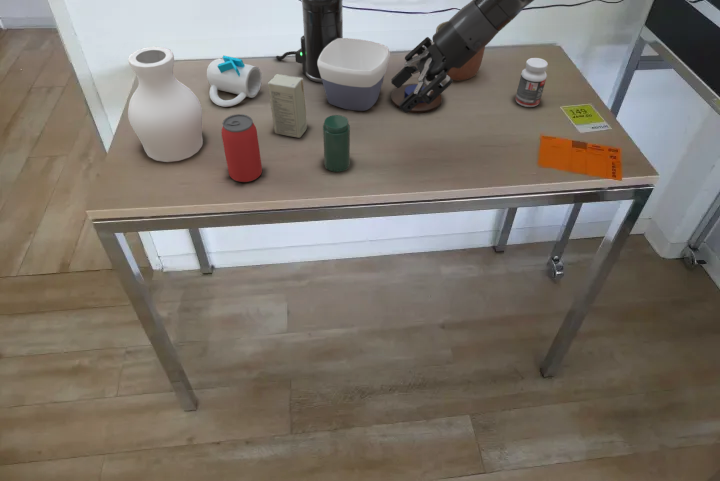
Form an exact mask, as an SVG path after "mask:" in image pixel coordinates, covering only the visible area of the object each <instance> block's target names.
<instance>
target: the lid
mask: <svg viewBox="0 0 720 481" xmlns="http://www.w3.org/2000/svg"><path fill="white" fill-rule="evenodd" d="M414 84H415V85H410V86H408V87H406V88H405V93H404V94H405V98H406V97H407V96H408V95H409V94H410V93H412V92H414V90H415V89H416V87H417V84H418V83H414ZM424 88H425V87H424V86H423V88H422V90H423V89H424ZM429 96H430V94H429ZM422 102H424V101H421V102H419V103H422Z"/></svg>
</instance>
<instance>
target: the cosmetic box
mask: <svg viewBox="0 0 720 481" xmlns="http://www.w3.org/2000/svg"><path fill="white" fill-rule="evenodd" d="M267 87H268V94H269V101H270V102H269V103H270V109H271V114H272V122H273V129H274V134H277V135H282V136H288V137H294V138H299V139H300V138H301V137H302V136H303V135H304V134H305V132H306V130H307V129H308V122H307V120H308V119H307V109H306V99H305V98H306V97H305V89H304V79H303V77H300V76H299V77H298V76H294V75H287V74H281V73H276V74H275V75H274V76H272V78H271V79H270V80H269V81H267Z"/></svg>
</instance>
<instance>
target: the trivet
mask: <svg viewBox="0 0 720 481" xmlns="http://www.w3.org/2000/svg"><path fill="white" fill-rule="evenodd" d="M415 84H417V85H418V83H408V84H403V85H402V86H401V87H400V88H397V87H396V88H394V89H393V90H392V91H391V93H390V102H391V104H392V105H393V106H394V107H395V108H397V109H398V110H400V111H402V110H401V109H400V107H399V104H400V103H401V102H402V101H403V100H404V99H405V94H404V93H405V88H406V87H408V86H410V85H415ZM432 93H434V91H431V92H430V95H431V94H432ZM442 100H443V97H442V95H441V94H440V95H439V96H438V97H437V98H436V99H435V100H434V101H433V102H432V103H430V104H427V103H426V102H422V103H418V104H417V105H416V106H415V107H414V108H412V110H410V111H409V112H408V113H410V114H427V113H431V112H433V111H436V110H437V109H439V108H440V107H441V105H442Z"/></svg>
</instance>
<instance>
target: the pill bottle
mask: <svg viewBox="0 0 720 481" xmlns="http://www.w3.org/2000/svg"><path fill="white" fill-rule="evenodd" d="M547 70H548V62H547V60H545V59H543V58H540V57H531V58H528V59H527V60H526V63H525V68H524V69H522V71H521V72H520V73H521V74H520V78H519V81H518V86H517V89H516V90H517V91H516V94H515V101H516V103H517V104H518V105H520V106H522V107H525V108H534V107H537V106H538V105H539V104H540V102H541V100H542V95H543V93H544V92H543V91H544V89H545V84H546V81H547V77H548V74H547V72H546V71H547Z"/></svg>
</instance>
